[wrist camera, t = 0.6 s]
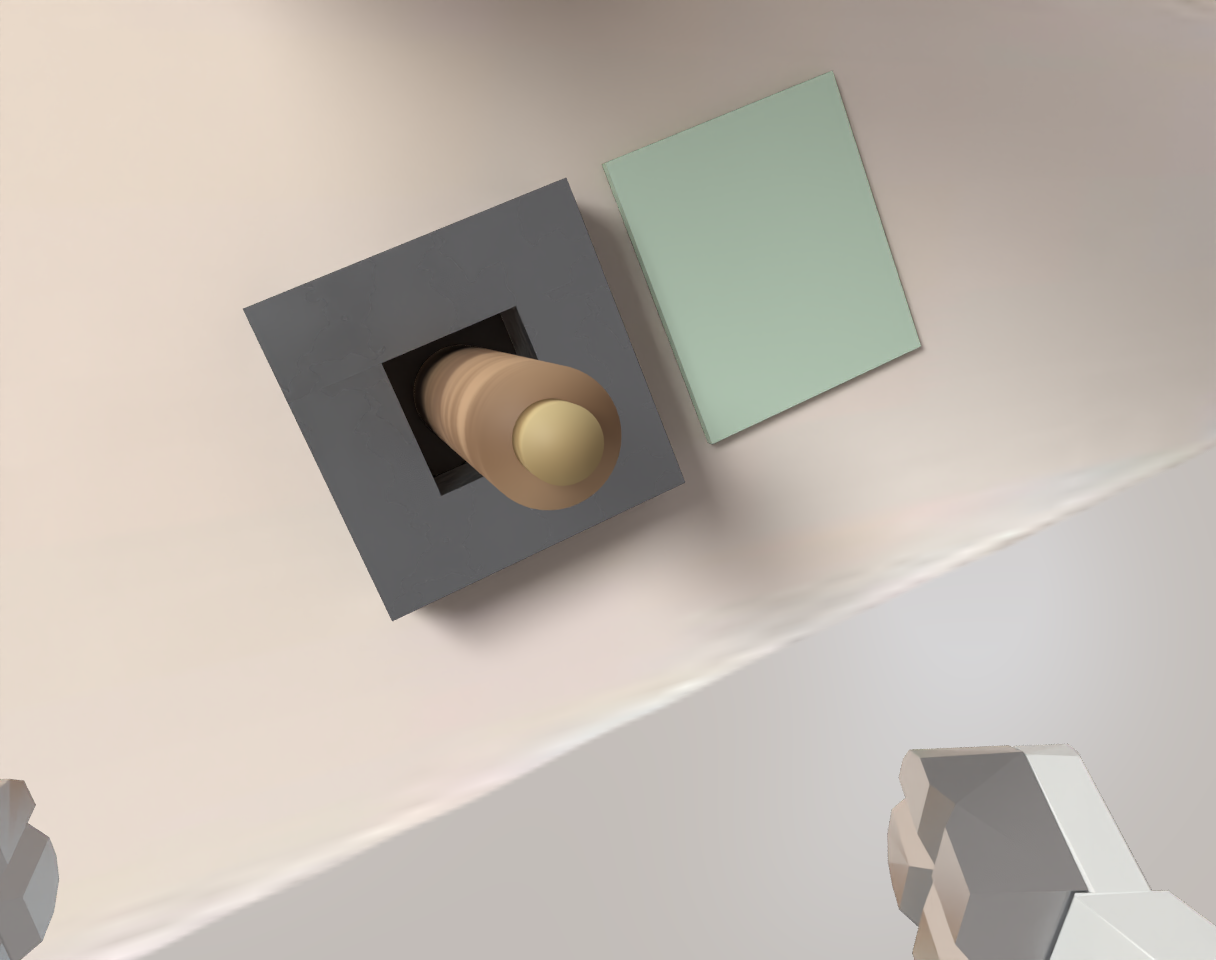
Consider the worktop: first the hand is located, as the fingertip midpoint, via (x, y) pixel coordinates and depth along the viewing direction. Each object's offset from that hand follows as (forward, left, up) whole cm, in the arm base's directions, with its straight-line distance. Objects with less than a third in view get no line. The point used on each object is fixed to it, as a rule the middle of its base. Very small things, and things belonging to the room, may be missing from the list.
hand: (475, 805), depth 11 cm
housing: (+2, +6, -41) cm, 41 cm away
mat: (+2, +22, -41) cm, 46 cm away
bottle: (+2, +6, -41) cm, 41 cm away
